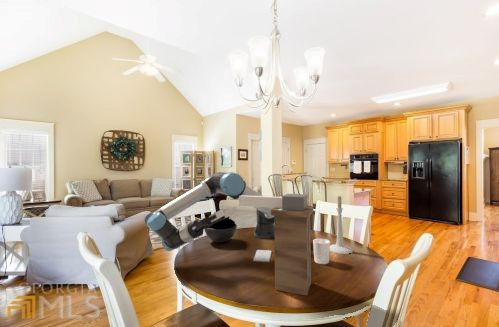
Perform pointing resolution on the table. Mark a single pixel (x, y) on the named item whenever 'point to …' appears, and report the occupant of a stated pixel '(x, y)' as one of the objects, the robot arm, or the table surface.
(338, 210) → the candlestick
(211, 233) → the bowl of black rocks
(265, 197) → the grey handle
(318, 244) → the white cup
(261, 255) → the smartphone
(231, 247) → the table surface
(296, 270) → the tall stand
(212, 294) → the table surface
